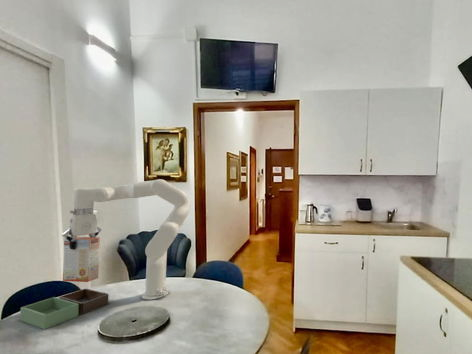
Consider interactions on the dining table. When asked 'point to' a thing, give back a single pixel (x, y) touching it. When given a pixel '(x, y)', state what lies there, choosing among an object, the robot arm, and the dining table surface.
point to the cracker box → (81, 260)
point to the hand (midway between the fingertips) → (82, 247)
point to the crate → (94, 296)
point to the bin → (49, 312)
